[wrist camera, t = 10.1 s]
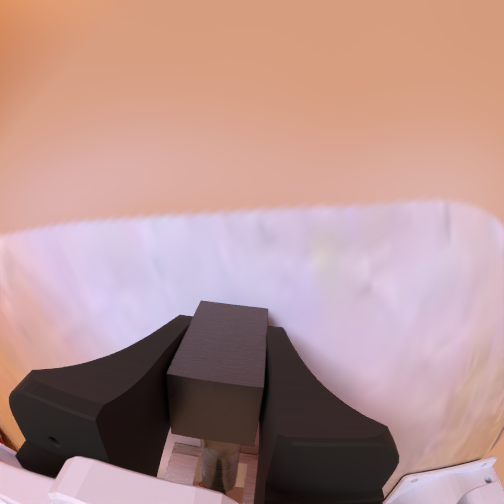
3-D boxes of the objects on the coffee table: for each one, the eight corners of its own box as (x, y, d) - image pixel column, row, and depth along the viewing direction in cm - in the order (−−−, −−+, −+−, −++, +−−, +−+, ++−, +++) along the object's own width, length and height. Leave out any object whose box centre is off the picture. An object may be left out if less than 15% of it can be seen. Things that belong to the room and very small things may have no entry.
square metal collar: (275, 456, 16) (272, 544, 10) (268, 480, 17) (264, 559, 11) (175, 442, 16) (148, 525, 11) (178, 467, 17) (156, 542, 11)
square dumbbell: (268, 308, 12) (263, 387, 8) (245, 468, 16) (237, 533, 11) (201, 300, 12) (166, 373, 8) (200, 461, 16) (185, 525, 11)
